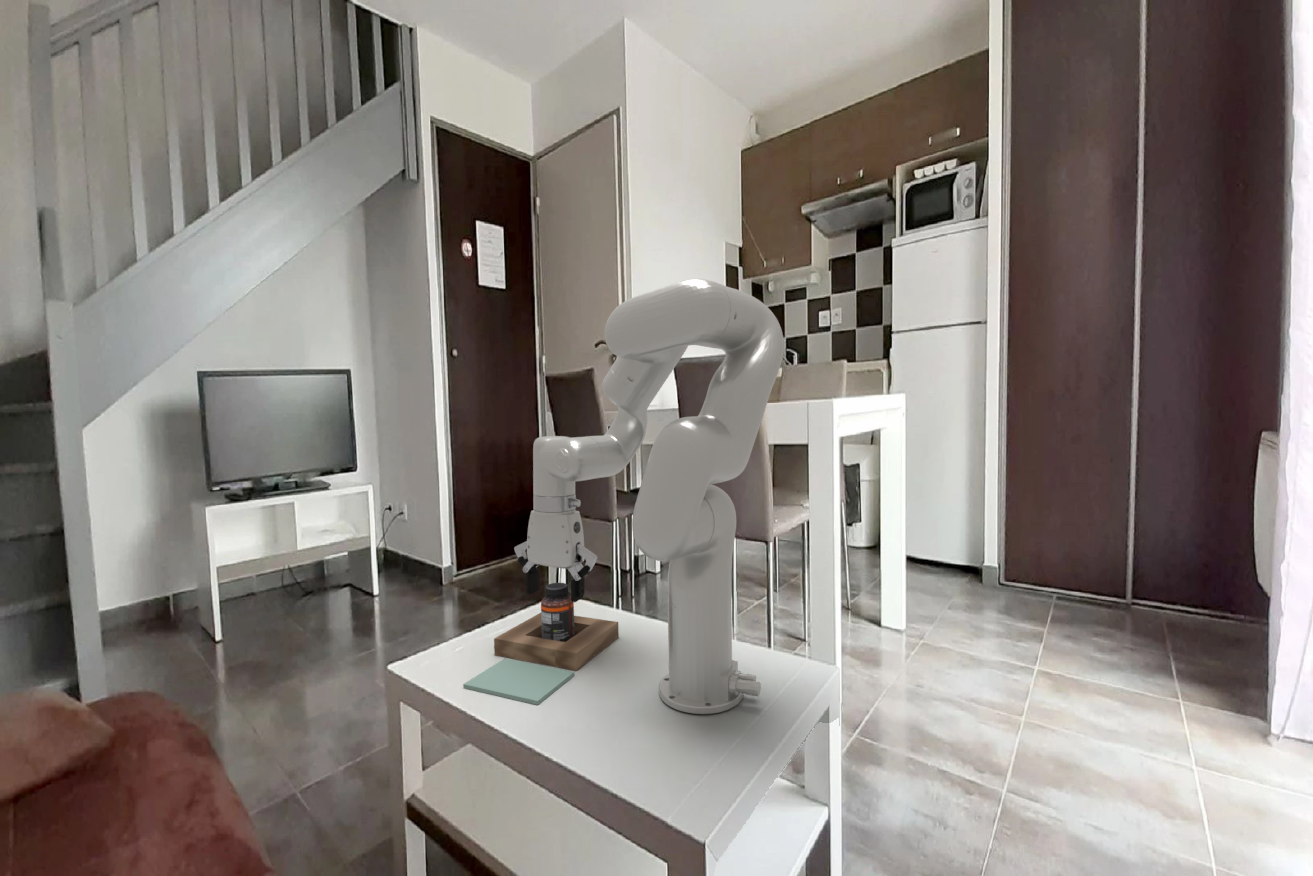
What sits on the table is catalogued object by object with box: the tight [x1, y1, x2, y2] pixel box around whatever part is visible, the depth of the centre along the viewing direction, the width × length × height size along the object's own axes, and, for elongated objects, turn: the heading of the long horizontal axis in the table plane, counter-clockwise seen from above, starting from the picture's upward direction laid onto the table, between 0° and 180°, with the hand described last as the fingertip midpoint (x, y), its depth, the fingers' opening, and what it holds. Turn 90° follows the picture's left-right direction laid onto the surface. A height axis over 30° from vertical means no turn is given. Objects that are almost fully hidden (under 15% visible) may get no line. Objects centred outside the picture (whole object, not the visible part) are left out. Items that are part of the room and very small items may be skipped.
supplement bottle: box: [540, 582, 575, 642], centre depth 102 cm, size 6×6×11 cm
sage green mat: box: [462, 657, 575, 706], centre depth 89 cm, size 14×10×1 cm
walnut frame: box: [493, 612, 620, 672], centre depth 102 cm, size 17×15×3 cm
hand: (554, 596), depth 102 cm, fingers open, 9 cm apart
